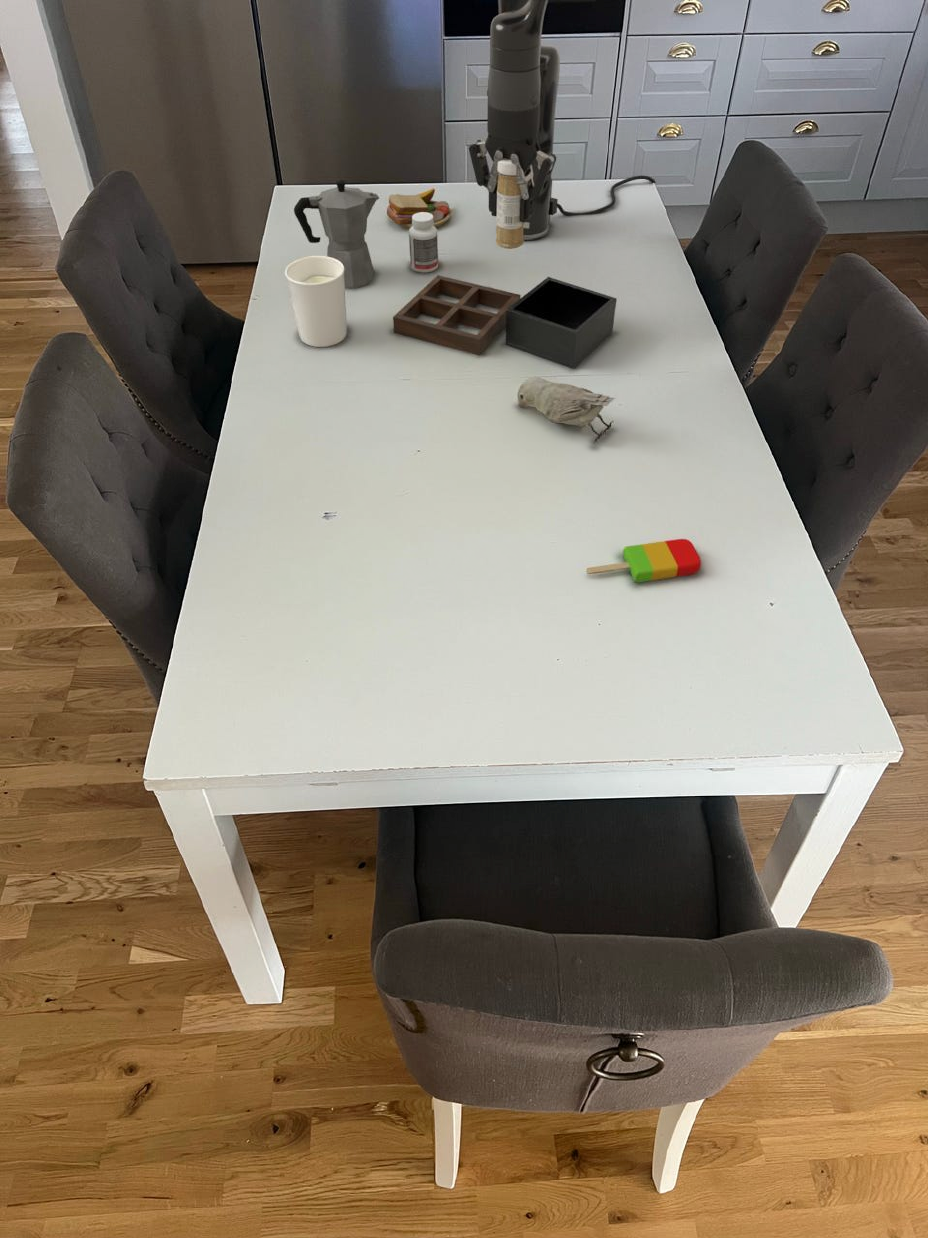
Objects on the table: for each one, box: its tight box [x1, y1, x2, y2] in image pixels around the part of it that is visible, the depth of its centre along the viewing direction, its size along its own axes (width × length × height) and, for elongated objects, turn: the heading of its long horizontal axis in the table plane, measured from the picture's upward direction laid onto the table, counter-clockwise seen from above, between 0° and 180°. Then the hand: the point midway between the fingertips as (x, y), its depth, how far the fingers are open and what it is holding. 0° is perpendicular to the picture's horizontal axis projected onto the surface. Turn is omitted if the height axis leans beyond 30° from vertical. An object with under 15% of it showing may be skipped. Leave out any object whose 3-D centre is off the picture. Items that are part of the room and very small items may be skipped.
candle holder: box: [284, 255, 348, 348], centre depth 157 cm, size 10×10×12 cm
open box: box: [504, 276, 618, 370], centre depth 158 cm, size 14×14×7 cm
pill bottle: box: [408, 212, 439, 274], centre depth 174 cm, size 5×5×10 cm
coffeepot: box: [293, 179, 380, 289], centre depth 169 cm, size 15×9×18 cm, turn 103°
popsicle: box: [586, 538, 702, 583], centre depth 121 cm, size 6×15×2 cm, turn 101°
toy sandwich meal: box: [386, 187, 452, 230], centre depth 190 cm, size 12×14×5 cm
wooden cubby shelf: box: [392, 274, 522, 356], centre depth 163 cm, size 17×17×3 cm
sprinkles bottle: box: [495, 158, 526, 250], centre depth 143 cm, size 5×5×13 cm
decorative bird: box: [517, 376, 615, 444], centre depth 141 cm, size 5×16×8 cm, turn 55°
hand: (510, 216), depth 145 cm, fingers closed on sprinkles bottle, 4 cm apart
